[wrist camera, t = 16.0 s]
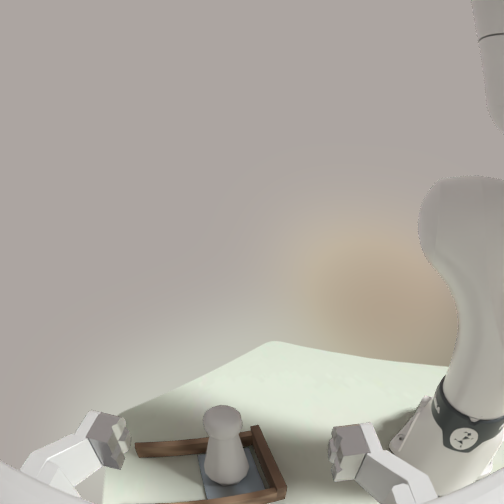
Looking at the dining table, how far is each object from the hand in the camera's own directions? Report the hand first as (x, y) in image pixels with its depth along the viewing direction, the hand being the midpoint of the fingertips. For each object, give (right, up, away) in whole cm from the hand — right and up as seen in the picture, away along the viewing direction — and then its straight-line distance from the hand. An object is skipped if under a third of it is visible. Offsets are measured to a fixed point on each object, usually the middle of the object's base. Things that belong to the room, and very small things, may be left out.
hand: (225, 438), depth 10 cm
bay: (-5, -23, +22) cm, 32 cm away
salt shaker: (-2, -23, +22) cm, 32 cm away
